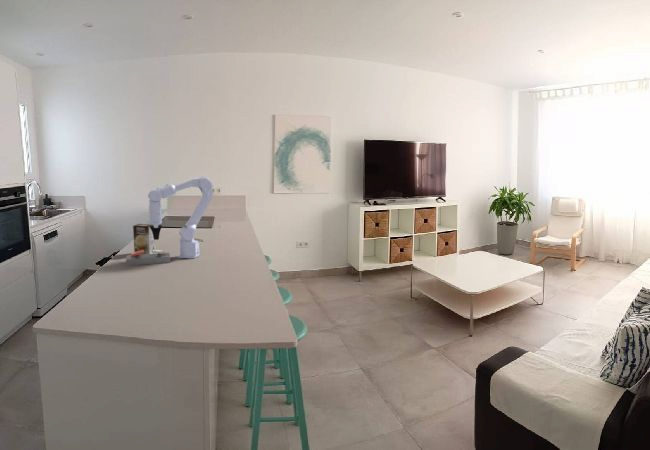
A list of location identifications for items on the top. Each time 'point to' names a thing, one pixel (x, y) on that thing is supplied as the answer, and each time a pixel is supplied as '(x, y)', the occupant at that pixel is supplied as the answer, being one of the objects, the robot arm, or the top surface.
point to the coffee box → (143, 238)
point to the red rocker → (137, 253)
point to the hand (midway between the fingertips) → (156, 239)
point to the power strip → (147, 259)
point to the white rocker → (158, 251)
